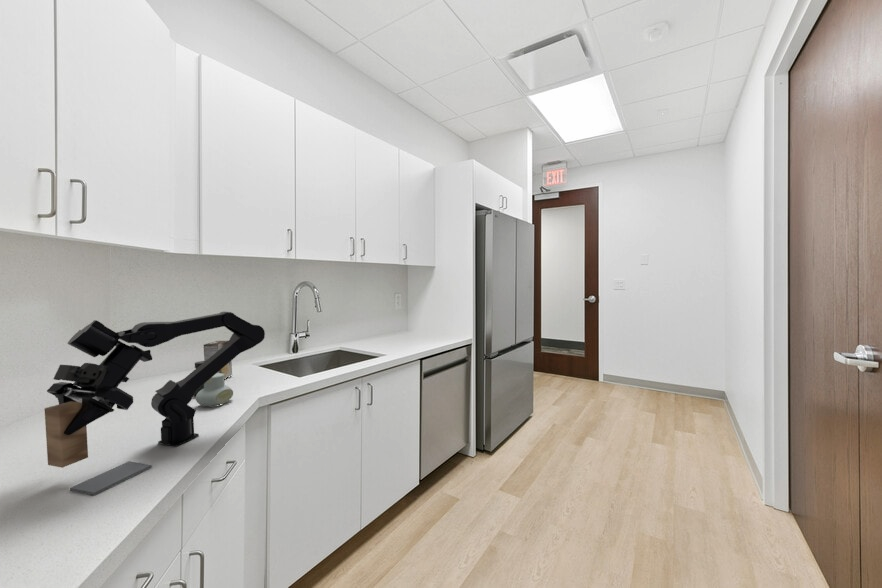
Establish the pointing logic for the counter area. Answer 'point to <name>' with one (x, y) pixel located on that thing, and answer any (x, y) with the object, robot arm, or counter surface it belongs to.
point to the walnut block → (64, 435)
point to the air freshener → (214, 392)
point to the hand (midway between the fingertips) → (58, 433)
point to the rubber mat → (110, 478)
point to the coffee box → (211, 350)
